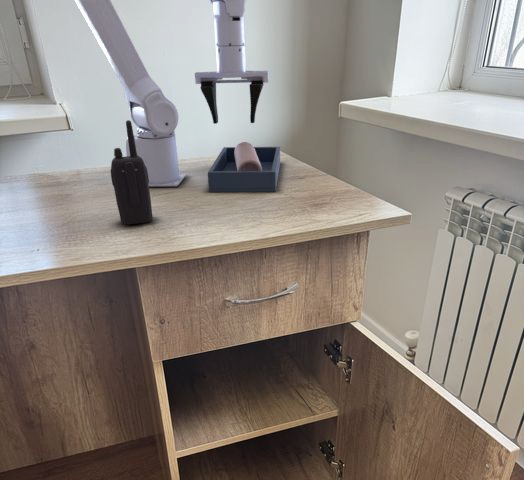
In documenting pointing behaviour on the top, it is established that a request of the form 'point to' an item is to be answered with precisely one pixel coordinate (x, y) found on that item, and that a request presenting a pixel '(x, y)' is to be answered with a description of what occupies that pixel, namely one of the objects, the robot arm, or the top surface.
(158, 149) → the robot arm
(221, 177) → the holder
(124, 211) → the two-way radio
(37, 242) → the top surface
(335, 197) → the top surface
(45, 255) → the top surface
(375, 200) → the top surface
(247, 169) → the pink hollow tube
